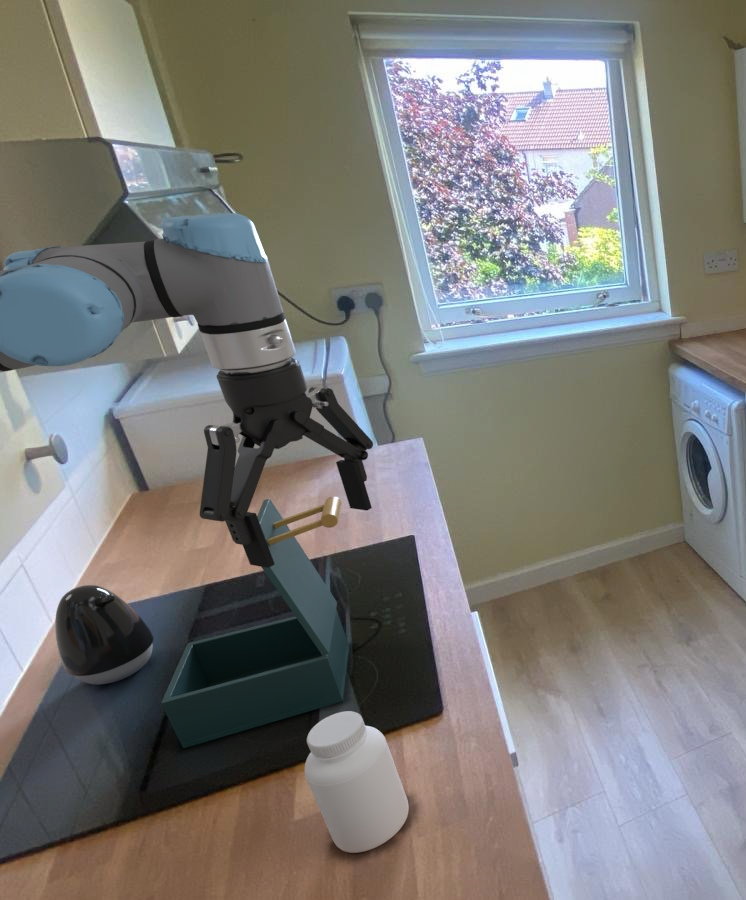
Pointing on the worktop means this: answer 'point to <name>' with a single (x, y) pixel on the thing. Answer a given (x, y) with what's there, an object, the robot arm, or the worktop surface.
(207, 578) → the worktop surface
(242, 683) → the bin
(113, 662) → the black rounded egg shape
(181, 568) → the worktop surface
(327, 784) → the pill bottle
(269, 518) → the bin lid
